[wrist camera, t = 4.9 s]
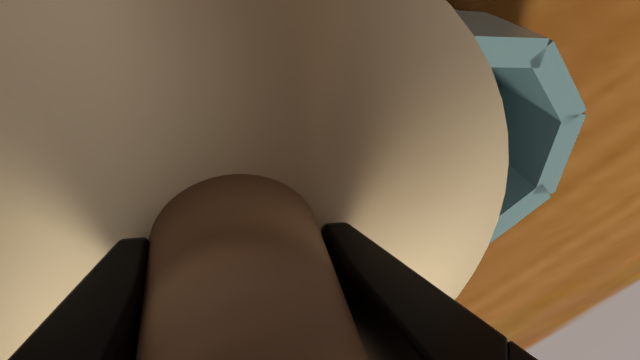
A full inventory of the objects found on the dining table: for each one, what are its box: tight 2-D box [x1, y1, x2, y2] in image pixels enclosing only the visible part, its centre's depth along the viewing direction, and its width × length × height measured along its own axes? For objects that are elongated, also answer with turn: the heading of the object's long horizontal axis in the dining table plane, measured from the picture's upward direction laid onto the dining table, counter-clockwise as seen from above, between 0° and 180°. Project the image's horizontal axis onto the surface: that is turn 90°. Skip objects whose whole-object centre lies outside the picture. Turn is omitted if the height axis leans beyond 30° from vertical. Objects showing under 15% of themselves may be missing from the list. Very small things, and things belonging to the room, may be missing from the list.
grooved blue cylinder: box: [453, 8, 587, 244], centre depth 19 cm, size 9×9×5 cm
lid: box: [0, 0, 509, 360], centre depth 7 cm, size 10×10×4 cm
